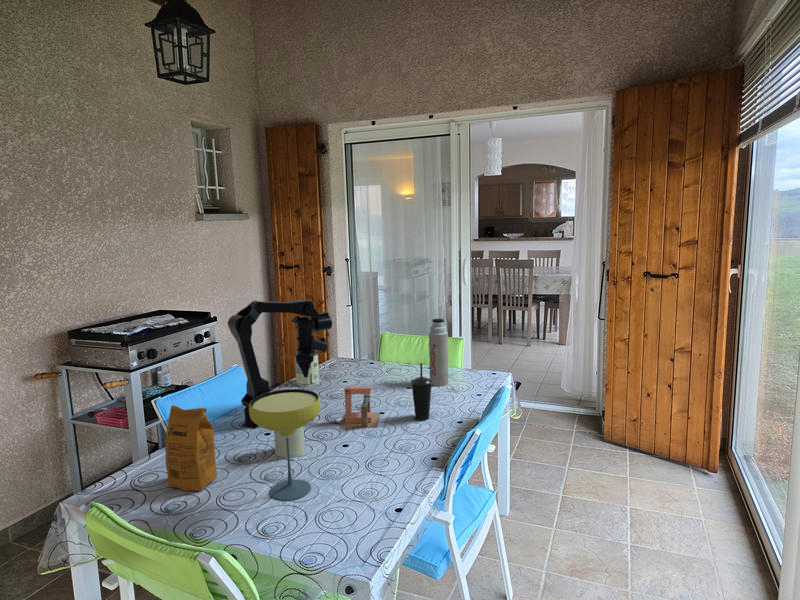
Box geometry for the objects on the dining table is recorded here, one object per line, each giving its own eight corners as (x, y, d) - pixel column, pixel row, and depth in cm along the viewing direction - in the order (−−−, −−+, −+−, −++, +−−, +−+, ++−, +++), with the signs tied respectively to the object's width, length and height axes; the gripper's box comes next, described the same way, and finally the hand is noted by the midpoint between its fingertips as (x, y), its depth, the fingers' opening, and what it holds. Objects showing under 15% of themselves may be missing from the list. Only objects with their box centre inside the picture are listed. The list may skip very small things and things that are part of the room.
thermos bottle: (435, 387, 223) (434, 321, 218) (426, 382, 230) (425, 318, 225) (451, 384, 226) (450, 319, 222) (442, 379, 233) (441, 316, 229)
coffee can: (299, 379, 239) (298, 349, 237) (322, 379, 238) (320, 348, 236) (293, 386, 229) (291, 354, 227) (316, 386, 228) (314, 354, 226)
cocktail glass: (242, 491, 141) (235, 401, 137) (300, 467, 154) (294, 384, 150) (279, 517, 128) (272, 418, 125) (338, 489, 141) (334, 398, 137)
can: (275, 459, 159) (273, 421, 158) (274, 447, 168) (272, 411, 166) (306, 455, 162) (304, 417, 160) (303, 443, 171) (301, 407, 169)
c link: (345, 423, 185) (343, 390, 183) (347, 417, 190) (345, 385, 188) (371, 422, 184) (370, 389, 183) (372, 417, 189) (371, 385, 188)
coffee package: (187, 471, 153) (180, 398, 150) (223, 477, 149) (216, 402, 146) (161, 488, 144) (153, 410, 141) (198, 495, 140) (190, 415, 137)
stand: (339, 430, 180) (338, 407, 179) (344, 414, 194) (343, 393, 193) (377, 429, 180) (376, 406, 179) (380, 414, 194) (379, 393, 193)
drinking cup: (431, 422, 185) (430, 366, 182) (409, 421, 186) (408, 366, 183) (434, 414, 192) (433, 360, 189) (413, 413, 194) (412, 360, 190)
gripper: (326, 337, 189) (328, 380, 192) (327, 327, 208) (328, 366, 210) (294, 338, 188) (296, 381, 190) (298, 328, 206) (300, 367, 209)
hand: (306, 373), depth 200 cm, fingers open, 9 cm apart
